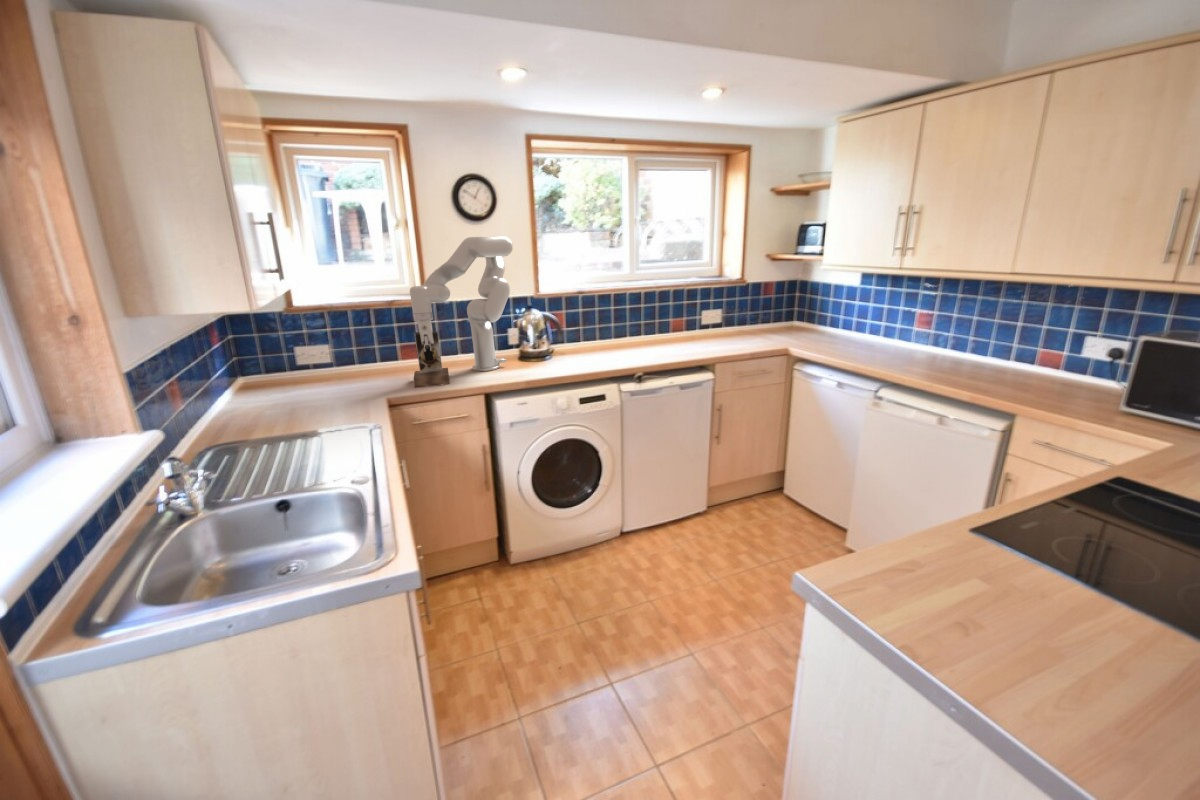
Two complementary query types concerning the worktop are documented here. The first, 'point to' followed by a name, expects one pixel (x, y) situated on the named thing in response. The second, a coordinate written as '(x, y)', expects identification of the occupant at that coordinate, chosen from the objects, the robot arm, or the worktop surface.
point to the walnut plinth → (431, 378)
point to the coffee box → (435, 349)
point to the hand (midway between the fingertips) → (429, 358)
